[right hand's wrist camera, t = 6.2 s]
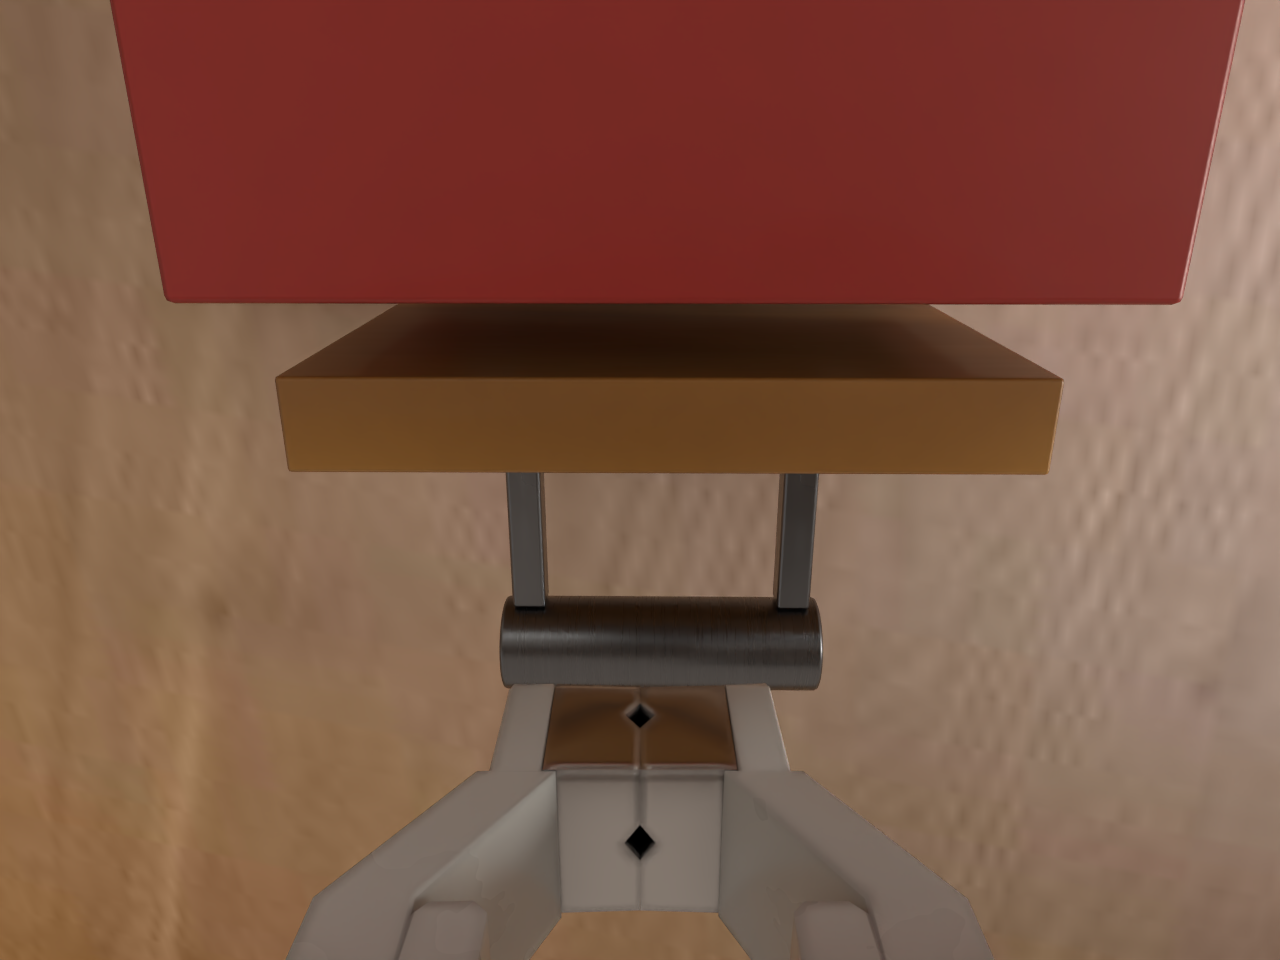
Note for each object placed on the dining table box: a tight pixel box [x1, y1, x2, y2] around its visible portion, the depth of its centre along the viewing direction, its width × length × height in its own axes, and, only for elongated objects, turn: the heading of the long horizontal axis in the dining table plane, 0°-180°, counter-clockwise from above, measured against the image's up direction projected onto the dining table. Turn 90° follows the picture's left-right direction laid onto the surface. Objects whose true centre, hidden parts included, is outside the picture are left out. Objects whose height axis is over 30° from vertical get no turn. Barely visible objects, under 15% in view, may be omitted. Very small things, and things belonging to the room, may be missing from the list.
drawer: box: [275, 303, 1064, 690], centre depth 13 cm, size 23×9×8 cm, turn 0°
